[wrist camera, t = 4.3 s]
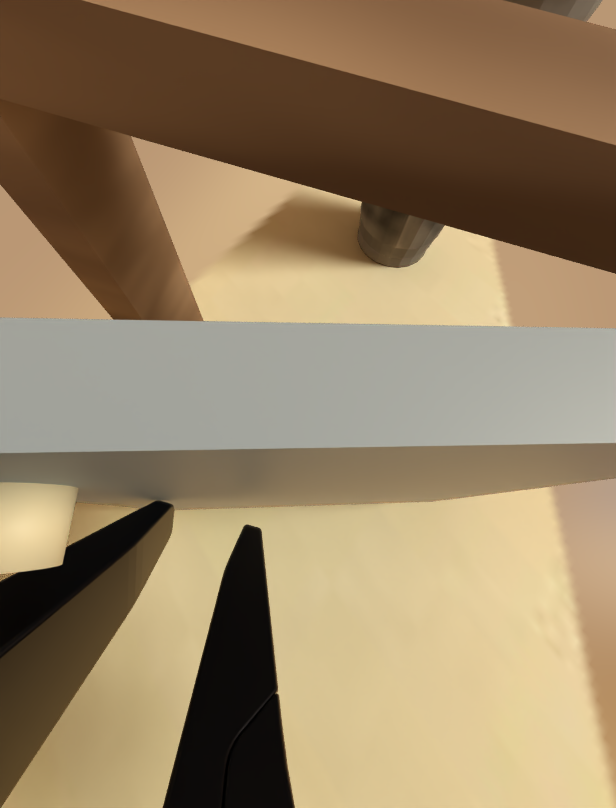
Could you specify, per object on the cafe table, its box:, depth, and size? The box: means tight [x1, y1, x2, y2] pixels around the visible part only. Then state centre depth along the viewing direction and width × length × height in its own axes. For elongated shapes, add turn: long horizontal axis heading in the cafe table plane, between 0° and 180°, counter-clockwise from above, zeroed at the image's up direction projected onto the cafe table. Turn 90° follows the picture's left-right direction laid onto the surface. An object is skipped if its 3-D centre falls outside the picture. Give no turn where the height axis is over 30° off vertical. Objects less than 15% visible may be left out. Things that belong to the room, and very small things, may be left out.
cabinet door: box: [0, 318, 616, 574], centre depth 8 cm, size 2×12×11 cm, turn 91°
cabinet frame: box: [0, 0, 616, 321], centre depth 10 cm, size 2×15×13 cm, turn 73°
